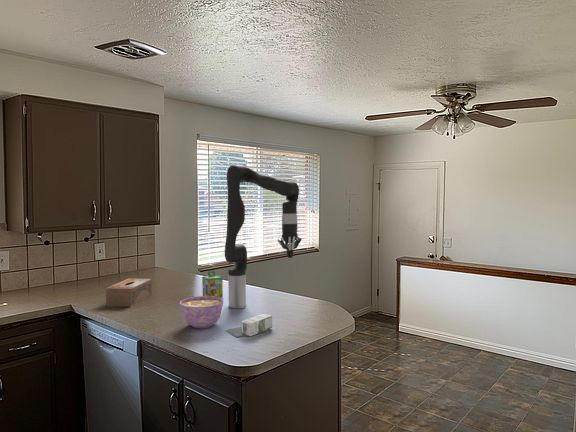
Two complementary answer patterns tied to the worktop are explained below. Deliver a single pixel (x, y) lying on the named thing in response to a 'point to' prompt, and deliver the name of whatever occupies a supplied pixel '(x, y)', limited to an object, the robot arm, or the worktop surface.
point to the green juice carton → (212, 285)
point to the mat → (238, 332)
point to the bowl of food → (201, 310)
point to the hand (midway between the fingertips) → (289, 257)
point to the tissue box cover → (128, 292)
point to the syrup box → (256, 324)
